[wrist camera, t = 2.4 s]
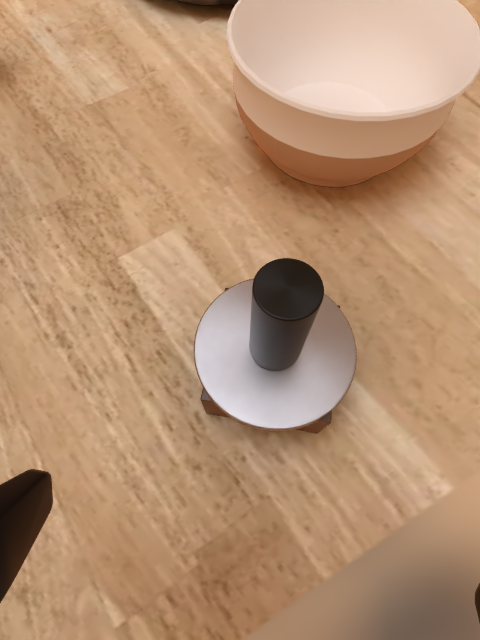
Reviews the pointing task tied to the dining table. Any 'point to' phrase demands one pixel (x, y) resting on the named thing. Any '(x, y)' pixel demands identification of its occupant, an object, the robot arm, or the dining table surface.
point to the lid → (275, 349)
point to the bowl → (348, 80)
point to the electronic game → (211, 2)
